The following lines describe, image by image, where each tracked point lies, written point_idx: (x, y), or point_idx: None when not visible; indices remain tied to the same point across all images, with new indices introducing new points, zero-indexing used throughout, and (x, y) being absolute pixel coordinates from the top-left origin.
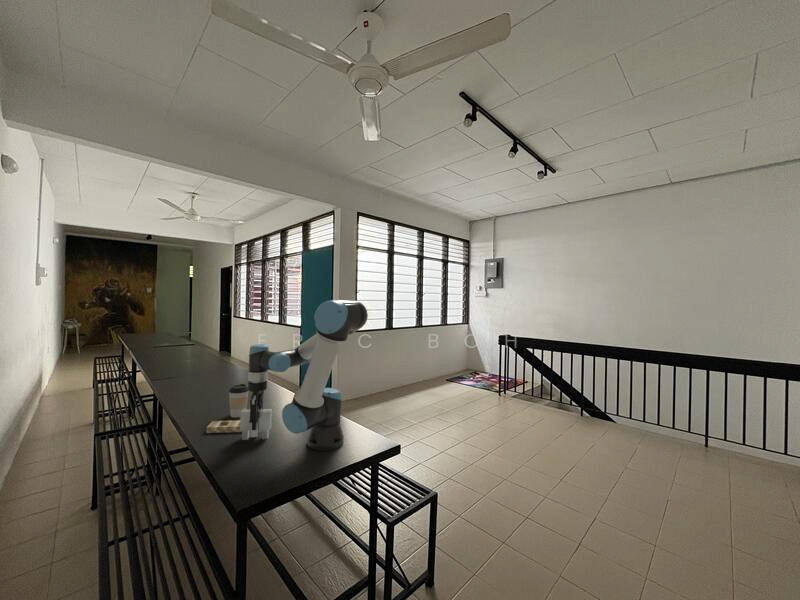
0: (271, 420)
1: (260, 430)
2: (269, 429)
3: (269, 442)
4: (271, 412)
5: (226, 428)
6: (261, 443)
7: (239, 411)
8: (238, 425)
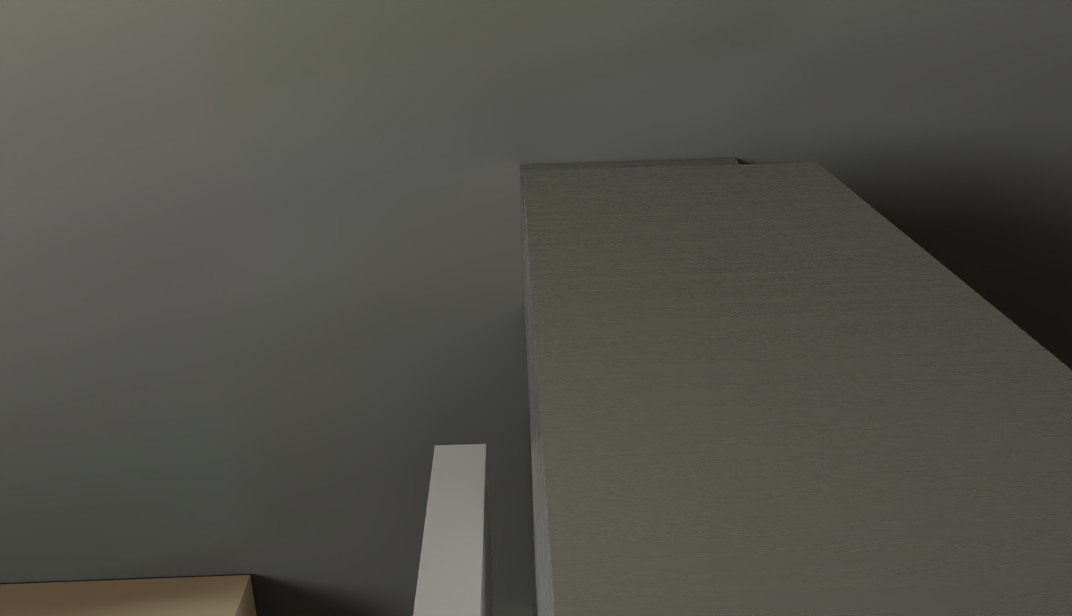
0: (549, 256)
1: (465, 459)
2: (815, 175)
3: (960, 40)
4: (745, 517)
5: None
6: (976, 240)
7: None
8: None
